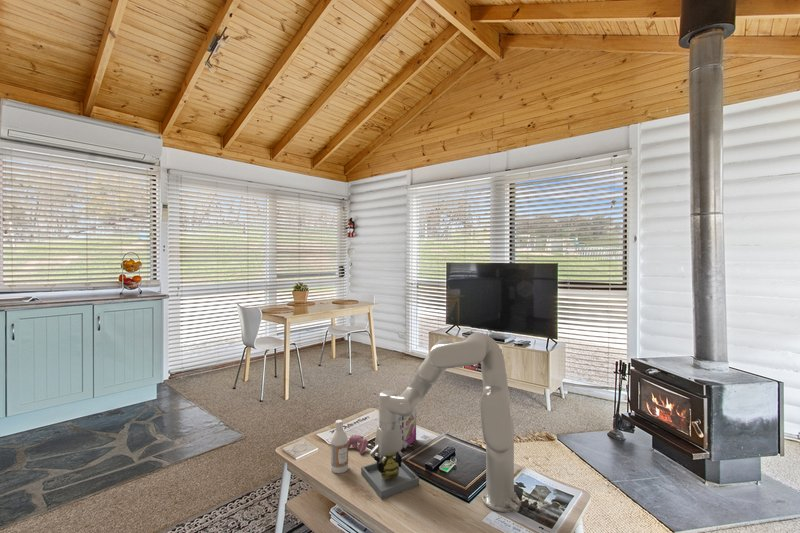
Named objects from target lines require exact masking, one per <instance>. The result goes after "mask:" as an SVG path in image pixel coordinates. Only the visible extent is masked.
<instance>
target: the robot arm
mask: <svg viewBox="0 0 800 533" xmlns="http://www.w3.org/2000/svg"><path fill="white" fill-rule="evenodd" d="M478 364H480V368H481V369H480V370H481V376H482V377H481V378H482V393H481V397H480V403H479V406H480V417H481V419H480V420H481V426H482V436H483V437H482V438H483V441H484V443H485V454H486V455H485V471H486V472H485V473H486V474H485V475H486V477H485V481H486V482H485V483H486V484H485V487H486V488H485V489H484V490H483V491H482V493H481V499H482V502H483V504H484V505H486V507H488V508H489V509H491V510H493V511H496V512H501V513H508V512H512V511H515V512H516V513H517V512H519V510H520V507H521V506H522V502H521V501H520V500H519V497H518V495H517V492H516V491H515V423H514V420H513V418H512V416H511V408H510V407H511V405H510V404H511V395H510V390H509V385H508V383H509V382H508V376H507V369H506V368H507V367H506V362H505V358H504V354H503V351H502V348H501V346H500V345H499V344H498V342H497V341H496V340H495V339H494V338H492V337H491V336H489V334H488V335H487V334H485V333H483V332H473V333H471V334H469V335H467V337H466V339H465V340H463V341H457V342H453V341H452V340H450V339H448V338H444V339H443V338H442V339H440V340H438V341H437V342H436V343H435V344H434V345H433V346H432V347H431V348H430V350H429V353H428V354H427V355H426V357H425V358H424V360H423V361H422V363H421V364H420V365H419V366H418V368H417V370H416V374H415V376H414V377H413V379H412V380H411V382H410V383H409V385H408V386H407V387H406V388H405V390H404V391H403V392H402V393H401V394H400V395H399V394H398V392H397V391H395V390H391V389H385V390H382V391H381V392H379V394H378V426H377V428H376V432H375V440H374V447H373V448H372V450H371V451H370V452H369V455H370V456H371V458H372V459H374V461H376V462H377V470H378V471H379V472H380V473H383V463H382V460H383V459H384V458H385V457H386V455H389V454H391V453H395V452H396V453H395V456H396V460H398V462H399V467H401V463H402V462H403V461H402V460H403V458H402V457H403V456H404V453H405V451H406V449H407V447H408V446H409V445H408V443H407V442H406V441H404V440H402V434H401V429H400V425H399V422H400V421H401V418H398V415H400V416H404V417H407V416H410V415H412V413H413V412H414V411H415V409H416V410H417V407H419V405H420V404H421V402H422V400H423V399H424V398H425V397H426V395H427V393H428V392H429V391H430V389H431V388H432V387H433V386H435V385H436V384H437V382H438V381H439V380H440V378H441V377H442V376H443V375H444V373H445V372H446V371H447V369H455V368H462V367H469V366H470V367H471V366H474V365H478ZM402 444H403V445H402ZM407 445H408V446H407ZM376 453H377V454H376Z"/></svg>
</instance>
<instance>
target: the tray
mask: <svg viewBox="0 0 800 533" xmlns="http://www.w3.org/2000/svg"><path fill="white" fill-rule="evenodd" d="M393 458H395V459H396V455H395V456H394V455H393ZM398 467H399V466H398ZM360 474H361V477H363V479H364V480H365V481H366V483H368V485H369V486H370V487H371V488H372V490H373V491H374V492H375V493H376V494H377V496H378V497H379V498H380V500H384V499H387V498H390V497H392V496H394V495H397V494H401V493H402V492H406V491H408V490H410V489H414V488H417V487H419V486H420V477H419V476H418V475H417V474H415V472H414V471H413V470H412V469H410V468H409V467H408V466H407V465H406V464H405V463H404V461H402V463H401V467H399V475H398V476H397V477H396V478H393V479H385V478H383V477H382V476H381V475H380V472H379V471H378V470H377V461H376V462H373V463H369V464H366V465H363V466H361V467H360Z"/></svg>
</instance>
